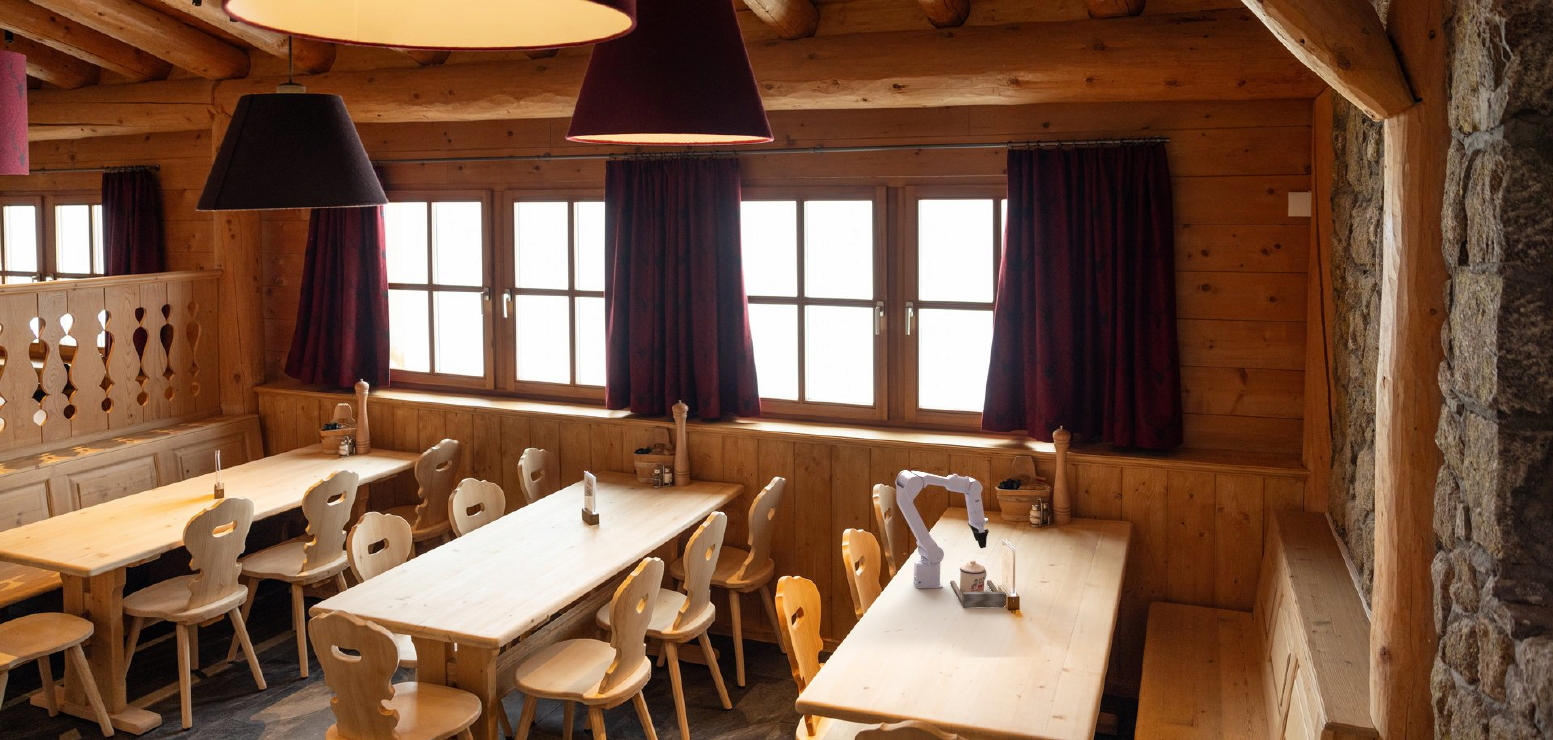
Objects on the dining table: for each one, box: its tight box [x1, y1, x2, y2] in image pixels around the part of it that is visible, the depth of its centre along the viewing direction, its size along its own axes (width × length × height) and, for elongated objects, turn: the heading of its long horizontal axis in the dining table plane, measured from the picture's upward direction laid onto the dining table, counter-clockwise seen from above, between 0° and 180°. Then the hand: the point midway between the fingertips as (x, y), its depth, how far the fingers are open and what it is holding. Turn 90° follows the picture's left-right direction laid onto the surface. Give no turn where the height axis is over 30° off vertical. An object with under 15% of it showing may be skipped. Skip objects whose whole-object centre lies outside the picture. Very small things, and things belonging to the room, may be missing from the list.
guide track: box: [949, 579, 1007, 609], centre depth 423 cm, size 15×24×5 cm, turn 2°
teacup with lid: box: [959, 559, 988, 593], centre depth 427 cm, size 12×9×12 cm
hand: (980, 543), depth 439 cm, fingers open, 7 cm apart
